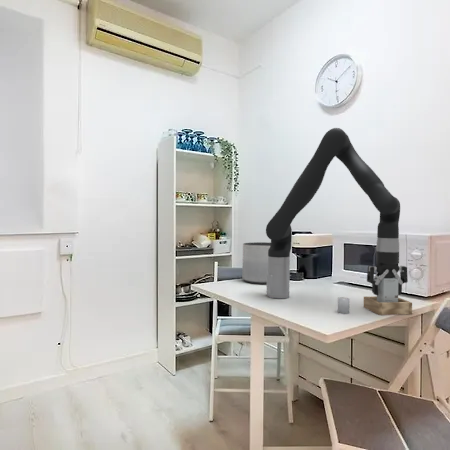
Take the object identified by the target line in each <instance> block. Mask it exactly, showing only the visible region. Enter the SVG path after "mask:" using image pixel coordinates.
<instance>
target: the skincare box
mask: <svg viewBox="0 0 450 450" xmlns="http://www.w3.org/2000/svg"><path fill="white" fill-rule="evenodd" d="M376 296H377V301H378V302H380V303H383V302H398V298H399V295H398V280H397V279H396V278H383V279H382V280H381V281H380V282H379V283H378V295H376Z"/></svg>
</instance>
